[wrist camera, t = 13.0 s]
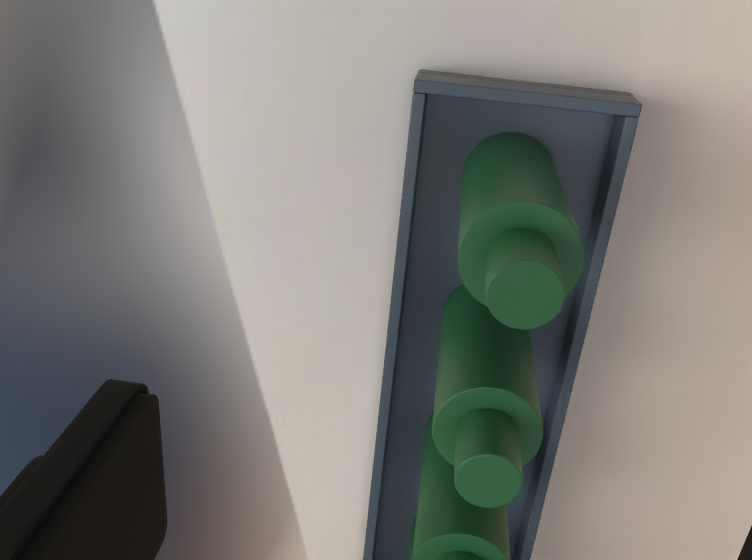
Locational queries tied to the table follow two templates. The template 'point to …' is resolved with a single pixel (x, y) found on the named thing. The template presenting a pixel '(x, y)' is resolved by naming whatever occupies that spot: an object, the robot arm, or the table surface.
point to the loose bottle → (517, 232)
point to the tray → (441, 277)
